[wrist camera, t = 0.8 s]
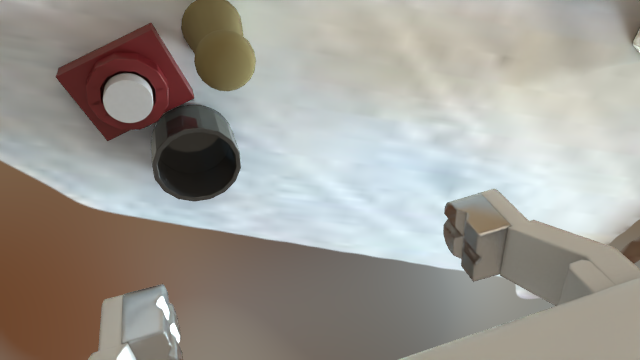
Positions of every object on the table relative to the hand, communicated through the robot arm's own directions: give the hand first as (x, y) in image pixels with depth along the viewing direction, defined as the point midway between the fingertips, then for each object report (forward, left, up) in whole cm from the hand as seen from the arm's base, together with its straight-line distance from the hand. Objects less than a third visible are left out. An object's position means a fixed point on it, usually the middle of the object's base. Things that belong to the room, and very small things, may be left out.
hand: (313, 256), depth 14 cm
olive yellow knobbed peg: (+7, -1, -41) cm, 42 cm away
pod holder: (+17, -9, -41) cm, 46 cm away
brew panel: (+8, -11, -41) cm, 43 cm away
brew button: (+8, -11, -38) cm, 40 cm away
